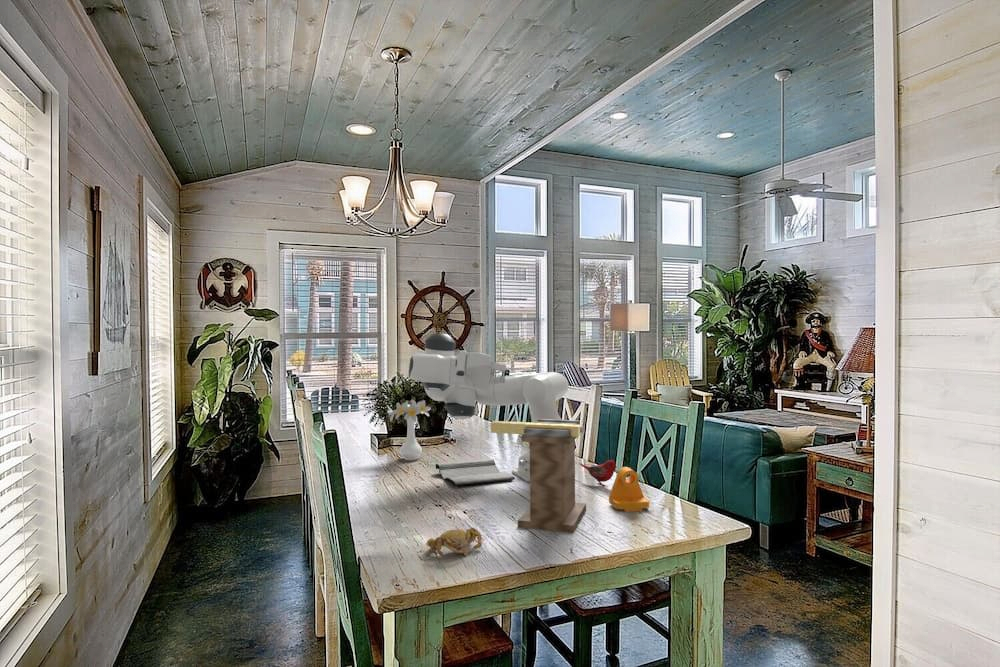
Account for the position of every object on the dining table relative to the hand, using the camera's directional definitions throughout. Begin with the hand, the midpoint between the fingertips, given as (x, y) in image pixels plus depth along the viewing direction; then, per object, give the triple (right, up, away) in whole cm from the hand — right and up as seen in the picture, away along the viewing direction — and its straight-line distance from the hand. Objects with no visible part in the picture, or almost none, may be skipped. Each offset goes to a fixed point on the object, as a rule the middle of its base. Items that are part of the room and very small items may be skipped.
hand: (505, 374), depth 188 cm
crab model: (-14, -44, -30) cm, 55 cm away
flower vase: (-40, -41, +72) cm, 92 cm away
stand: (+14, -42, -6) cm, 45 cm away
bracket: (+39, -42, +4) cm, 57 cm away
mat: (-11, -42, +42) cm, 60 cm away
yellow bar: (+8, -17, -11) cm, 21 cm away
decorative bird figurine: (+33, -42, +30) cm, 61 cm away
